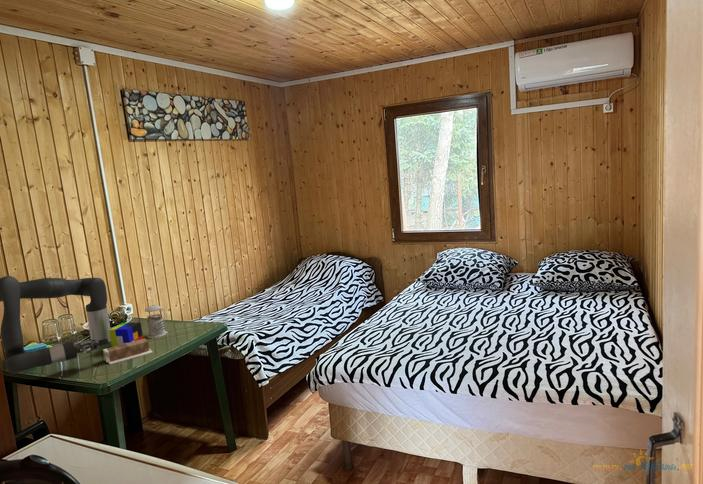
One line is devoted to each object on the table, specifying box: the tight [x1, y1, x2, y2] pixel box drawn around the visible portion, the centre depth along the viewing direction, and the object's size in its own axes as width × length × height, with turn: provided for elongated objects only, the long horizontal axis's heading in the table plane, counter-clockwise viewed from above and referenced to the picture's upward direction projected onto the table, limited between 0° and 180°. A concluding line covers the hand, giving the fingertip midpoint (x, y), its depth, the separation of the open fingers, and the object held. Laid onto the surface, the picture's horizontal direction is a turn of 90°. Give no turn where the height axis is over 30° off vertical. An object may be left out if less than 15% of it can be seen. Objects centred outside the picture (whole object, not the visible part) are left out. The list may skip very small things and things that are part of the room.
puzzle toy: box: [109, 321, 144, 347], centre depth 232 cm, size 10×10×10 cm
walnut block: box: [102, 338, 151, 363], centre depth 218 cm, size 4×6×18 cm
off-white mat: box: [107, 347, 153, 366], centre depth 219 cm, size 18×12×1 cm, turn 126°
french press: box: [144, 286, 168, 339], centre depth 245 cm, size 10×12×25 cm
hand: (107, 340), depth 214 cm, fingers closed
